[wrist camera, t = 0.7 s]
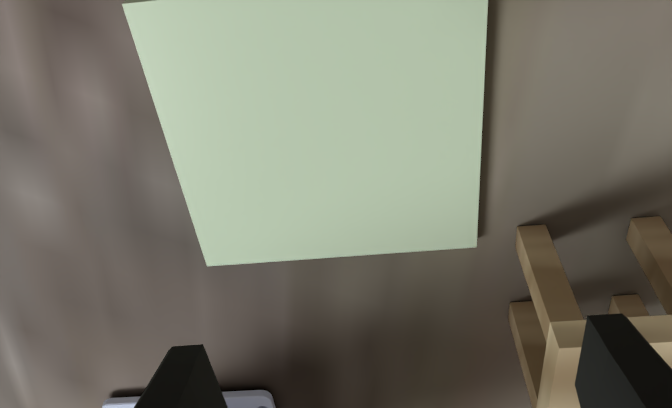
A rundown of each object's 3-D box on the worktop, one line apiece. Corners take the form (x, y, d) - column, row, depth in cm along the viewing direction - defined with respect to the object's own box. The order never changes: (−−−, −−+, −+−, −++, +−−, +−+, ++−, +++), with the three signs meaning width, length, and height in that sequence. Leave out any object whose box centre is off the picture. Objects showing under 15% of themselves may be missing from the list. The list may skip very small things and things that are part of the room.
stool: (633, 311, 25) (694, 435, 20) (508, 319, 25) (541, 442, 21) (660, 216, 22) (738, 338, 17) (517, 226, 22) (559, 348, 18)
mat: (474, 239, 23) (476, 247, 22) (208, 258, 23) (206, 266, 23) (486, -39, 16) (489, -35, 16) (125, -2, 17) (122, 4, 17)
